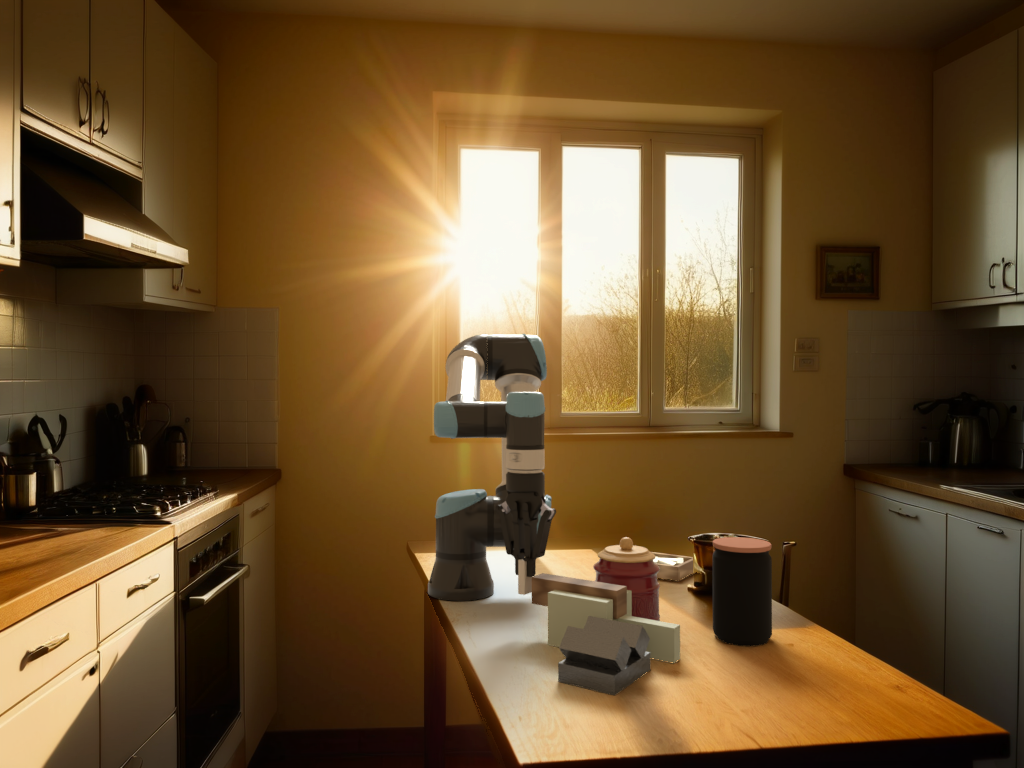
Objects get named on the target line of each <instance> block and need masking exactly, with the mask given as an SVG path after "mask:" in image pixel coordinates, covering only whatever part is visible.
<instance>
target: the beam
mask: <svg viewBox="0 0 1024 768" xmlns="http://www.w3.org/2000/svg"><path fill="white" fill-rule="evenodd" d="M588 616H593V617H598V618H603V619H609V620H614V621H620V622H625V623H630V624H636V625H641V626H643V627H644V629H645V631H646V632H647V634H648V636H649V638H650V640H649V643H648V646H647V649H646V651H647V652H650V658H654V659H659V660H663V661H662V662H664V661H668V662H673V663H675V662H676V661H677V660H679V659H680V660H681V625H680V624H677V623H672V622H666V621H661V620H660V621H656V620H651V619H645V618H639V617H634V616H632V591H630V590H627V614H626V615H624V616H622V617H620V618H618V619H613V600H612V599H606V598H601V597H595V596H589V595H583V594H577V593H571V592H565V591H559V590H553V591H551V592H548V606H547V645H548V646H552V647H557V648H559V646H560V644H561V642H562V639H563V637H564V634H565V632H566V629H567V627H568V626H571V627H576V628H581V629H584V627H585V624H586V621H587V619H588ZM654 659H653V660H654ZM659 660H658V661H659ZM680 660H679V661H680ZM668 662H667V663H668ZM677 662H678V661H677ZM677 662H676V663H677ZM673 663H672V664H673ZM676 663H675V664H676Z"/></svg>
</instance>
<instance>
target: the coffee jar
mask: <svg viewBox="0 0 1024 768" xmlns="http://www.w3.org/2000/svg"><path fill="white" fill-rule="evenodd" d="M712 546H713V547H714V549H715V550H714V552H712V632H713V634H714V635H715V636H716V639H718V640H719V641H720V640H721V642H723V643H725V642H726V643H725V644H729V643H730V644H729V645H732V644H733V645H735V646H739V647H740V646H741V647H758V646H763V645H765V644H767V643H768V642H769V641H770V639H771V638H772V635H773V594H772V593H773V584H772V583H773V582H772V580H773V579H772V578H773V574H772V572H773V570H772V569H773V565H772V564H773V563H772V562H773V561H772V560H773V559H772V556H771V554H770V551H771V549H772V544H771V542H769V541H767V540H763V539H760V538H754V537H744V536H743V537H742V536H741V537H738V536H735V537H734V536H729V537H728V536H727V537H726V536H725V537H719V538H715V539H713V540H712Z"/></svg>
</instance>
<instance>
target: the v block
mask: <svg viewBox="0 0 1024 768" xmlns="http://www.w3.org/2000/svg"><path fill="white" fill-rule="evenodd" d="M649 640H650V638H649V636H648V634H647V632H646V631H645V629H644V627H643V626H641V625H636V624H630V623H625V622H620V621H614V620H609V619H603V618H598V617H593V616H588V619H587V621H586V624H585V627H584V629H581V628H576V627H571V626H568V627H567V629H566V632H565V634H564V637H563V639H562V642H561V644H560V646H559V647H558V649H559V651H560V652H561V653H562V655H563V656H564V657H565V659H562V660H561V661H559V662H558V664H557V665H558V666H557V667H558V670H557V671H558V673H557V676H558V678H557V679H558V680H557V682H558V683H562V684H566V685H570V686H575V687H579V688H583V689H587V690H590V691H594V692H595V691H596V692H599V693H603V694H606V695H611V696H616V695H618V694H619V693H621V692H622V691H624V690H625V689H626V688H627V687H629V686H630V685H632V684H634V683H635V682H636V681H638V680H639V679H641V678H642V677H643V676H644V675H643V674H645V673H646V672H648V671H649V670H650V671H651V659H650V652H647V651H646V649H647V646H648V643H649ZM650 671H649V672H650ZM649 672H648V673H649ZM646 674H647V673H646ZM646 674H645V675H646ZM642 675H643V676H642ZM641 676H642V677H641ZM638 678H639V679H638ZM637 679H638V680H637ZM635 680H636V681H635ZM634 681H635V682H634Z"/></svg>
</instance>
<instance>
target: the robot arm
mask: <svg viewBox="0 0 1024 768" xmlns="http://www.w3.org/2000/svg"><path fill="white" fill-rule="evenodd" d="M544 346H545V345H544V342H543V340H542V338H541V337H540V336H538V335H536V334H526V333H522V334H486V333H484V334H476V335H472V336H470V337H468V338H465V339H464V340H462V341H461V342H459V343H458V344H456V345H455V346H454V347H453V348H452V349H451V350H450V352H449V353H448V354H447V357H446V360H445V372H446V375H447V377H448V378H447V379H448V380H447V387H446V395H445V396H446V397H445V401H438V402H436V403H435V404H434V406H433V407H434V408H433V431H434V435H435V436H436V437H438V438H445V439H447V438H448V439H449V438H450V439H451V440H453V439H472V438H473V439H474V438H475V439H477V438H478V439H481V438H482V439H485V438H486V439H489V438H490V439H494V438H495V439H496V438H497V439H501V482H500V484H498V485H497V486H496V487H495V495H488V493H487V491H486V490H485V489H483V488H477V489H475V488H473V489H464V490H463V489H462V490H457V491H452V492H449V493H445V494H443V495H440V496H439V497H438V498H437V500H436V502H435V503H436V505H435V515H434V518H435V560H434V564H433V566H432V569H431V573H430V577H429V580H428V583H427V594H428V595H429V596H430V597H431V598H434V599H437V600H444V601H453V602H455V601H457V602H458V601H460V602H463V601H474V600H481V599H485V598H488V597H490V596H492V595H493V594H494V592H495V590H494V588H495V586H494V585H495V584H494V580H493V577H492V574H491V570H490V567H489V563H488V561H487V548H491V547H492V548H505V552H506V554H507V555H509V556H510V555H511V556H512V557H513V558H514V562H515V563H514V565H515V566H514V567H515V568H514V570H515V571H514V572H515V575H516V576H518V577H517V580H518V581H517V582H518V583H517V586H518V587H517V589H518V590H517V593H518V595H523V596H525V595H528V594H532V577H534V576H536V572H537V571H536V568H537V567H536V566H537V564H536V563H537V562H536V561H537V559H538V558H541V557H545V555H546V549H547V545H548V539H549V536H550V531H551V526H552V525H551V524H552V521H553V519H554V517H555V516H556V513H557V509H556V508H552V496H551V495H549V494H546V489H545V488H546V487H545V483H546V481H545V479H546V478H545V477H546V476H545V475H546V474H545V473H544V471H542V470H545V467H546V464H545V463H546V462H545V460H546V459H545V458H546V456H545V455H546V454H545V428H546V427H545V425H546V424H545V415H546V414H545V413H546V406H545V396H544V393H542V392H540V391H538V390H539V389H540V387H541V386H542V382H543V381H545V380H546V379H547V375H548V370H547V369H548V367H547V357H546V351H545V347H544ZM484 380H485V381H494V386H495V388H496V389H497V390H498V391H499V392H500V401H481V381H484Z"/></svg>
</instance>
